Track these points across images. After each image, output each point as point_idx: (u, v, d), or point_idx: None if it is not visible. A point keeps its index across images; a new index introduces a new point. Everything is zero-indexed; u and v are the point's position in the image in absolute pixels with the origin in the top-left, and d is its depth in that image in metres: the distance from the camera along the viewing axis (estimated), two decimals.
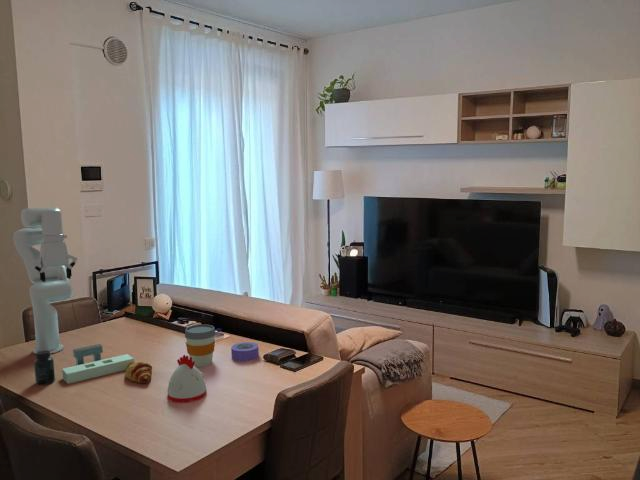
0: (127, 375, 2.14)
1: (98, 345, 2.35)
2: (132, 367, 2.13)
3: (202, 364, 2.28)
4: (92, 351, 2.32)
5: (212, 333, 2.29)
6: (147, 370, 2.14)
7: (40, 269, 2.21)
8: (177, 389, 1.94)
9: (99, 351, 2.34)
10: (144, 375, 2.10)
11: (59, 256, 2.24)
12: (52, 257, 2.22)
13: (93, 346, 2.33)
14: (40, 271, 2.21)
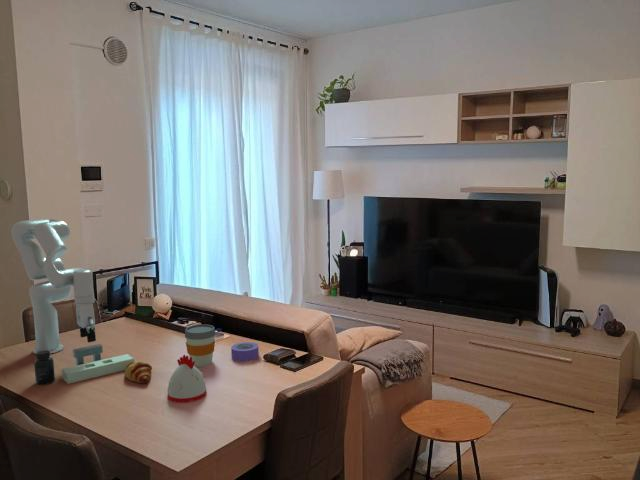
0: (127, 375, 2.14)
1: (98, 345, 2.35)
2: (131, 367, 2.13)
3: (202, 364, 2.28)
4: (92, 351, 2.32)
5: (212, 333, 2.29)
6: (146, 370, 2.14)
7: None
8: (177, 389, 1.94)
9: (99, 351, 2.34)
10: (143, 375, 2.10)
11: None
12: None
13: (93, 346, 2.33)
14: (94, 330, 2.27)
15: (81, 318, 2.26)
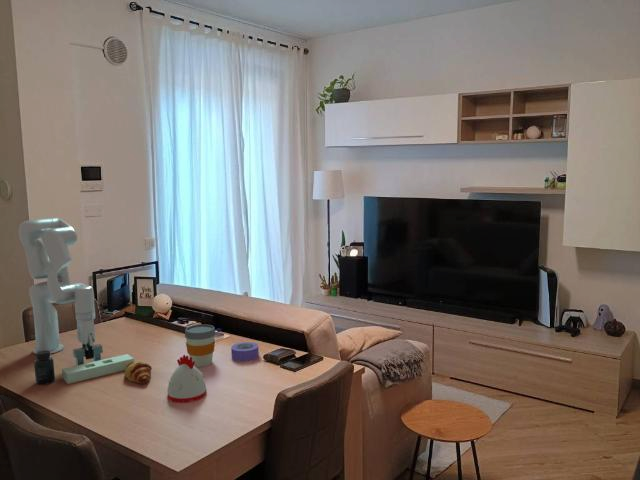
0: (126, 375, 2.14)
1: (98, 345, 2.35)
2: (131, 367, 2.13)
3: (202, 364, 2.28)
4: None
5: (212, 333, 2.29)
6: (146, 370, 2.14)
7: None
8: (177, 389, 1.94)
9: (99, 351, 2.34)
10: (143, 375, 2.10)
11: None
12: None
13: (93, 346, 2.33)
14: (92, 348, 2.30)
15: (82, 334, 2.27)
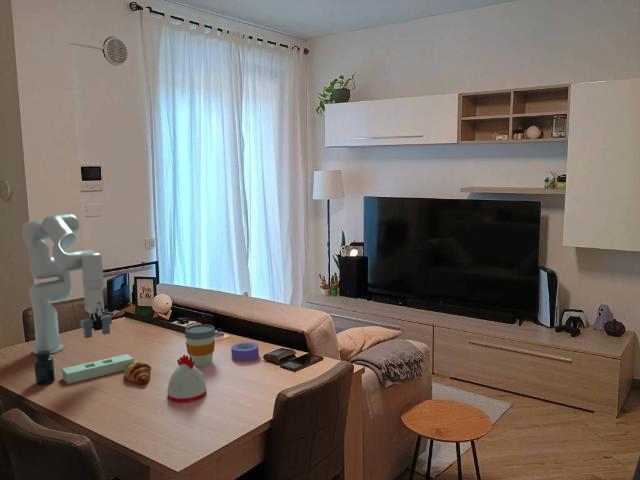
0: (126, 375, 2.14)
1: (107, 316, 2.22)
2: (131, 367, 2.13)
3: (202, 364, 2.28)
4: None
5: (212, 333, 2.29)
6: (145, 370, 2.14)
7: None
8: (177, 389, 1.94)
9: (108, 322, 2.21)
10: (142, 375, 2.10)
11: None
12: None
13: (102, 317, 2.20)
14: (101, 319, 2.17)
15: (90, 303, 2.14)
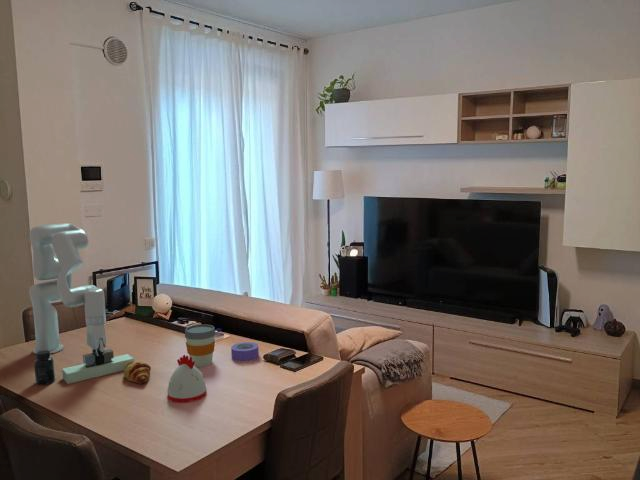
0: (125, 375, 2.14)
1: (109, 350, 2.24)
2: (130, 367, 2.13)
3: (202, 364, 2.28)
4: None
5: (212, 333, 2.29)
6: (145, 370, 2.14)
7: None
8: (177, 389, 1.94)
9: (110, 357, 2.23)
10: (141, 375, 2.10)
11: None
12: None
13: (104, 351, 2.23)
14: (103, 354, 2.20)
15: (92, 339, 2.16)
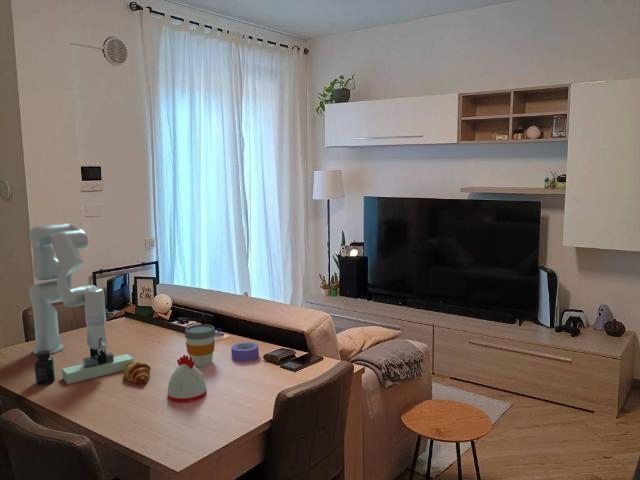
0: (125, 375, 2.14)
1: (109, 354, 2.24)
2: (130, 367, 2.13)
3: (202, 364, 2.28)
4: None
5: (212, 333, 2.29)
6: (144, 370, 2.14)
7: None
8: (177, 389, 1.94)
9: (110, 360, 2.23)
10: (141, 375, 2.10)
11: None
12: None
13: None
14: (105, 352, 2.17)
15: (92, 339, 2.16)
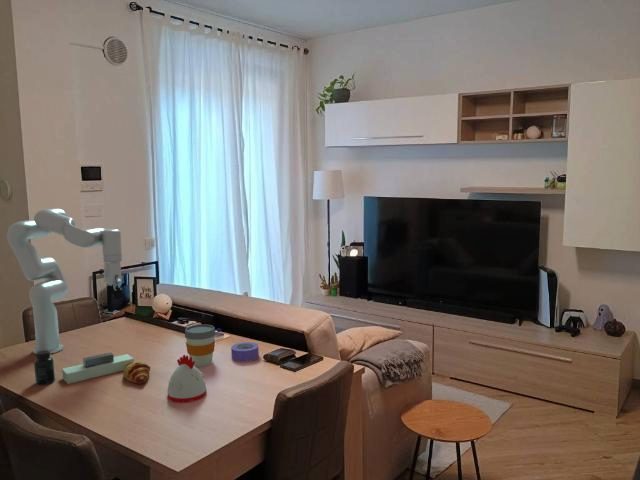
0: (124, 375, 2.14)
1: (109, 354, 2.24)
2: (129, 367, 2.13)
3: (202, 364, 2.28)
4: (102, 360, 2.21)
5: (212, 333, 2.29)
6: (144, 370, 2.14)
7: None
8: (177, 389, 1.94)
9: (110, 360, 2.23)
10: (140, 375, 2.10)
11: None
12: None
13: (104, 355, 2.23)
14: (120, 288, 2.33)
15: (108, 276, 2.32)
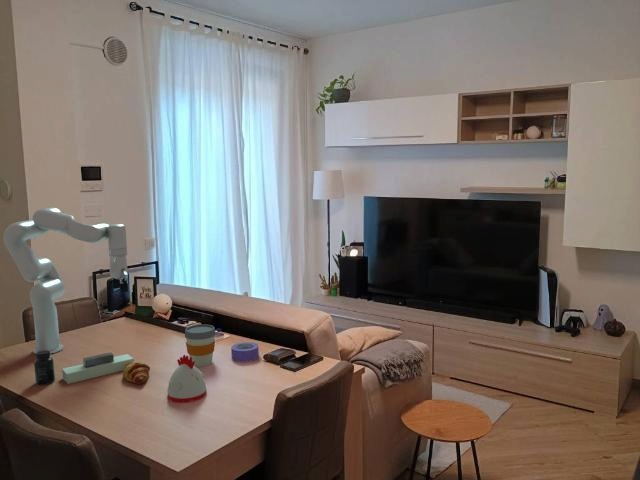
0: (124, 375, 2.14)
1: (109, 354, 2.24)
2: (129, 367, 2.13)
3: (202, 364, 2.28)
4: (102, 360, 2.21)
5: (212, 333, 2.29)
6: (143, 371, 2.14)
7: None
8: (177, 389, 1.94)
9: (110, 360, 2.23)
10: (139, 376, 2.10)
11: None
12: None
13: (104, 355, 2.23)
14: (127, 281, 2.39)
15: (115, 269, 2.38)
